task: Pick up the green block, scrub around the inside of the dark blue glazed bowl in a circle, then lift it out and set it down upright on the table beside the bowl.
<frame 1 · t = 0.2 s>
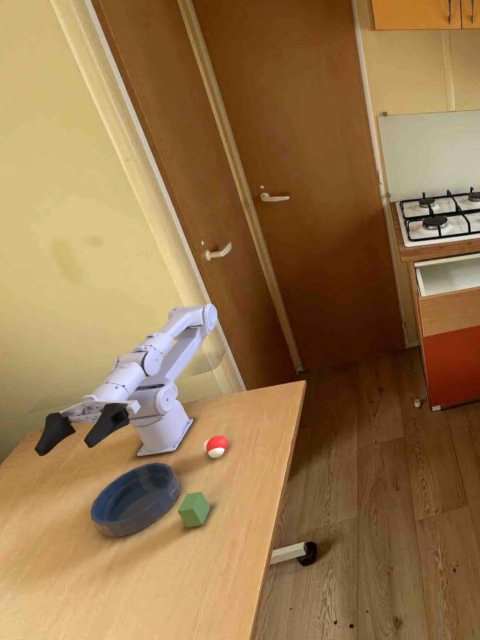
hand: (63, 448, 76), 22 cm above the table, tool horizontal, fingers open, 7 cm apart
molecule: (217, 453, 99), on the table
green block: (199, 517, 86), on the table
bowl: (142, 505, 88), on the table
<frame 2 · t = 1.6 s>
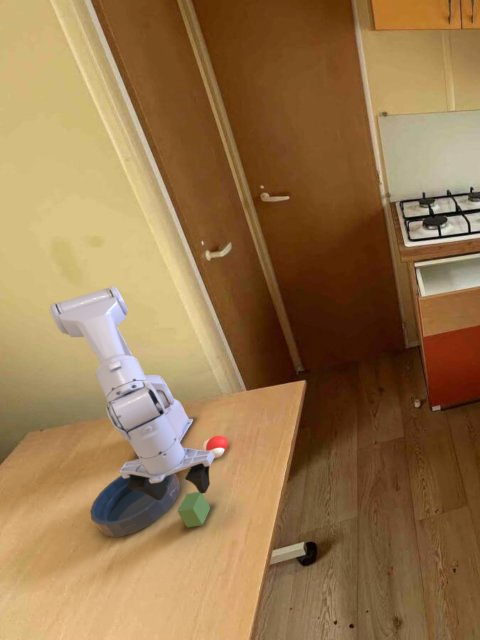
hand: (184, 491, 82), 8 cm above the table, tool pointing down, fingers open, 7 cm apart
nothing on the table moved.
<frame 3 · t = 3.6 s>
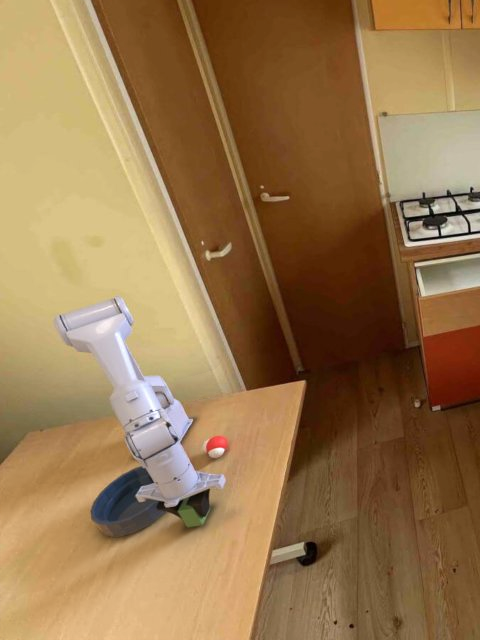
hand: (196, 513, 85), 1 cm above the table, tool pointing down, fingers closed on green block, 3 cm apart
green block: (199, 517, 86), on the table, touching gripper
everything else where it was.
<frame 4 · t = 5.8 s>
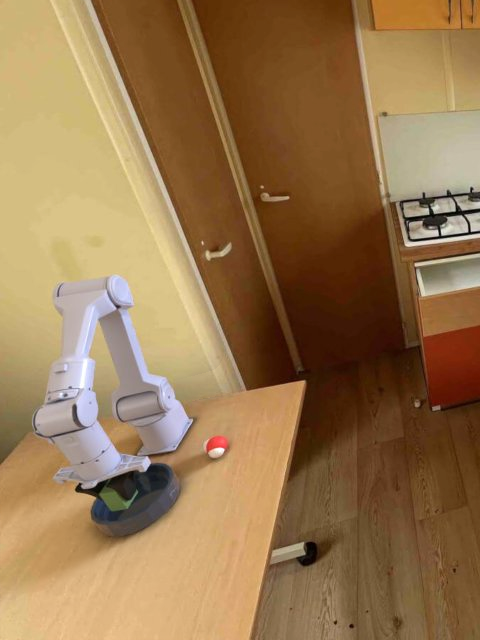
hand: (122, 497, 83), 7 cm above the table, tool pointing down, fingers closed on green block, 3 cm apart
green block: (125, 501, 84), point 5 cm above the table, touching gripper
everything else where it was.
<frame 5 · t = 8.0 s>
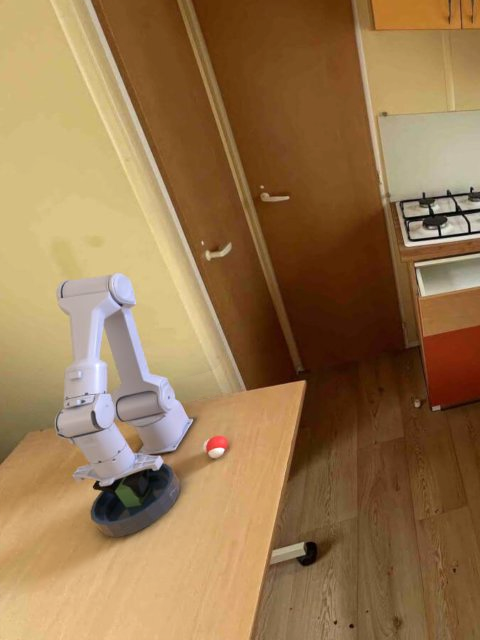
hand: (136, 494, 88), 2 cm above the table, tool pointing down, fingers closed on green block, 3 cm apart
green block: (138, 498, 89), point 1 cm above the table, touching gripper
everything else where it was.
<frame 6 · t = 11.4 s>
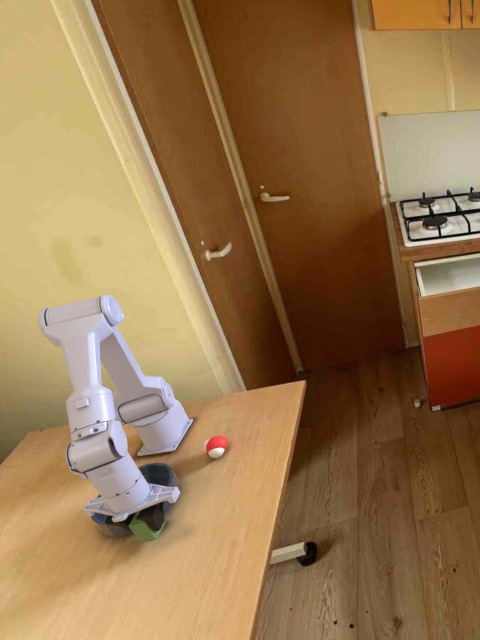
hand: (150, 527, 82), 2 cm above the table, tool pointing down, fingers closed on green block, 3 cm apart
green block: (153, 531, 82), point 1 cm above the table, touching gripper
everything else where it was.
when the fingers open (1 cm above the table, at t = 12.5 s): green block stays where it is, on the table.
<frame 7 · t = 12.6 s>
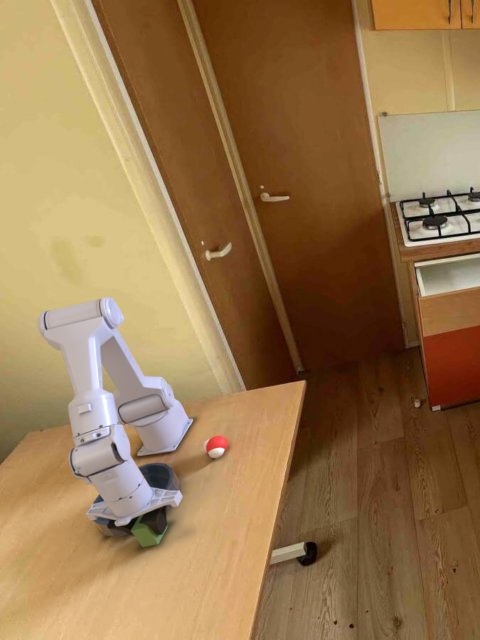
hand: (153, 531, 82), 1 cm above the table, tool pointing down, fingers open, 3 cm apart
green block: (155, 536, 83), on the table
everything else where it was.
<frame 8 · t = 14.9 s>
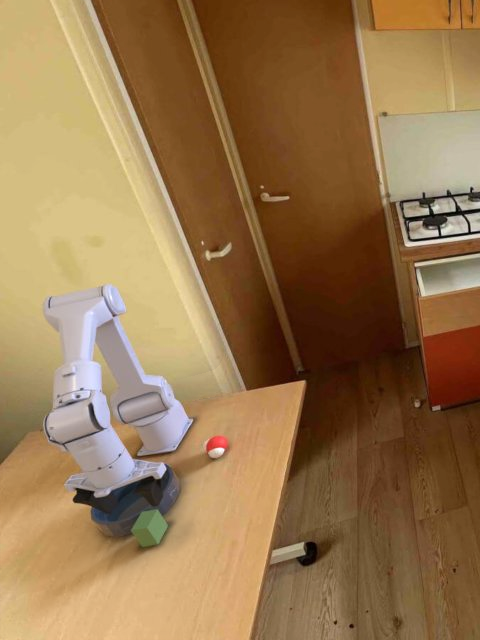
hand: (135, 505, 79), 9 cm above the table, tool pointing down, fingers open, 7 cm apart
nothing on the table moved.
at the end: green block 0.6 cm from the target spot, on the table; green block tilted 0°; the gripper is holding nothing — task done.
